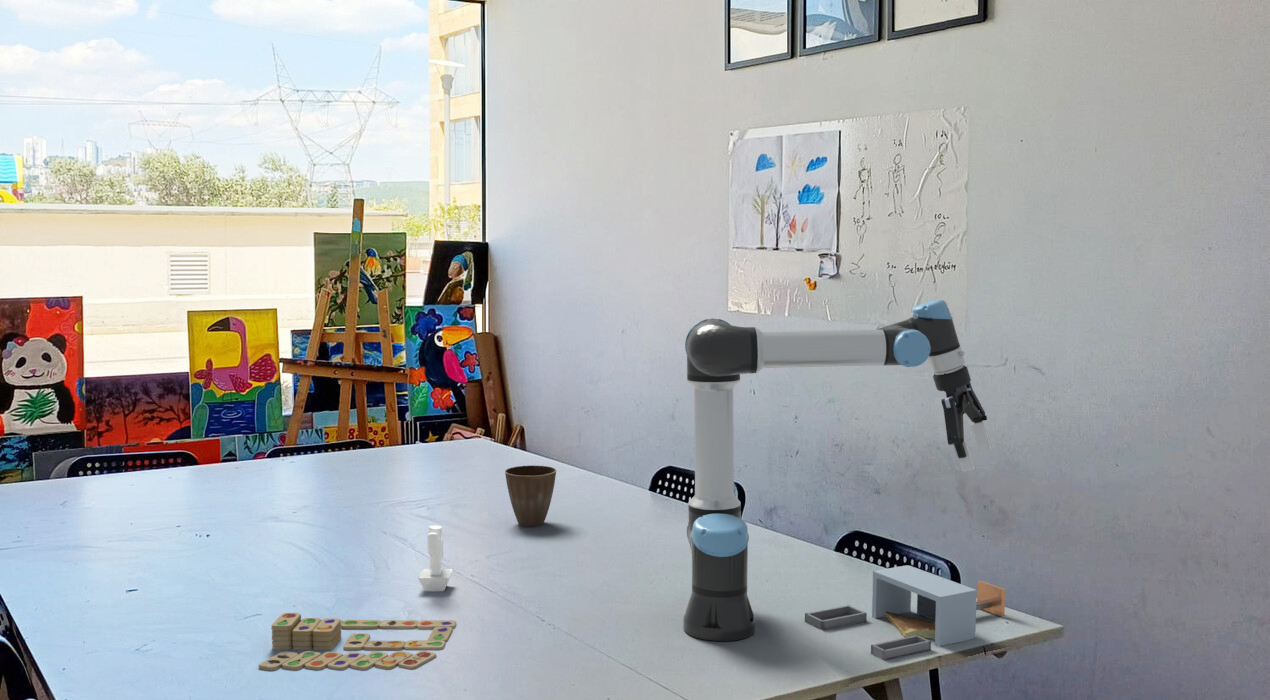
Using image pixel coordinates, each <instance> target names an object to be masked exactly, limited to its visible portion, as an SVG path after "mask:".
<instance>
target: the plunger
mask: <svg viewBox="0 0 1270 700" xmlns="http://www.w3.org/2000/svg"><path fill="white" fill-rule="evenodd" d="M916 596H917V597H916V600H917V601H916V603H917V604H916V613H917V615H920V616H922V617H924V618H927V619H930V620H932V621H934V622H935V620H936V601H934V600H932V599H929V598H927V597H924V596H921V595H919V594H917V595H916ZM1005 606H1006V588H1004V587H1000V586H998V585H995V584H992V583H989V582H987V581H984V580H978V581H977V599H976V611H979V610H982V611H986V612H988V613H990V614H994V615H996V616H999V617H1005V609H1006V607H1005Z"/></svg>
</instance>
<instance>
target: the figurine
mask: <svg viewBox="0 0 1270 700" xmlns="http://www.w3.org/2000/svg"><path fill="white" fill-rule="evenodd" d="M442 534H443V526H441V525H430V526H428V534H427V553H428V555H429V567H430V568H423V569H422V570H421V572H420V573H419V576H418V577H417V579H418V581H419V583H420V585H421V587H422V588H423V590H424V592H445V590H446V588H447V586H448V584H449V580H450V578H451V575H452V573H453V572H454V571H453V570H454V568H442V558H443V557H444V540H443V538H442Z"/></svg>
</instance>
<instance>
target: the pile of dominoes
mask: <svg viewBox="0 0 1270 700" xmlns="http://www.w3.org/2000/svg"><path fill="white" fill-rule="evenodd" d="M456 626H457V621H456V620H453V619H439V620H438V619H437V620H436V619H429V620H428V619H422V620H413V619H404V620H403V619H402V620H401V619H384V620H380V619H346V620H343V619H341V618H338V617H337V618H336V617H333V618H328V617H326V618H322V619H321V618H319V617H304V618H302V614H301V613H300V612H283V613H281V614H279V617H278V618H277V619H275V621H273V623H272V624H271V627H270V629H271V630H272V631H271V640H272V641H271V645H272V646H271V648H272V650H273V651H281V652H279V653H277V654H275V655H273V656H272V657H270V658H268V659H266V660H264V661H262V662H260V663H259V664H258V670H264V671H269V672H270V671H271V672H272V671H277V670H279V669H284V670H289V671H290V670H291V671H300V670H301V669H304V668H305V669H307V670H314V671H321V670H324V669H326V668H328V669H329V670H330V669H331V670H336V671H344V670H347V669H349V668H350V669H354V670H359V671H367V670H369V669H371V668H373V667H375V668H379V669H382V670H383V669H384V670H393V669H394V668H396V667H398V668H402V669H407V670H415V669H417V668H420V667H421V666H423V665H425V664H427V663H429V662H430V661H432V660H434V659H436V658H437V653H435V652H433V651H441V650H443V649H444V648H445V646H446V643H447V642H448V641H449V639H450V637H451V635H452V634H453V631H454V630H453V629H455V628H456ZM378 629H380V630H414V629H418V630H431V633H430V634H429V636H428V638H427V639H426V640H424V639H423V640H420V639H414V640H413V639H410V640H406V641H405V640H370V639H371V635H370V633H360V632H359V633H356V632H355V633H351V634H350V636H349V637H348V639H347V641H346V642H345V643H344V645H343V651H349V652H346V653H345V654H344V655H343V652H338V651H337V652H336V651H332V650H333V649H334V648H335V647H336V646H337V644H338V643H339V642H340V639H342V630H378ZM290 650H293V651H294V652H293V651H290ZM313 650H314V651H313ZM330 650H331V651H330ZM362 650H364V651H372V652H369V653H367V654H366V653H365V652H358V651H362ZM403 650H405V651H403ZM295 651H302V652H301V653H299V654H298V653H297V652H295ZM318 651H325V652H323V653H322V654H321V652H318ZM382 651H394V652H393V653H391V654H389V653H387V652H382ZM408 651H409V652H408ZM410 651H418V652H416V653H415V654H413V653H412V652H410Z"/></svg>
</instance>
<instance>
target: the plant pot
mask: <svg viewBox="0 0 1270 700" xmlns="http://www.w3.org/2000/svg"><path fill="white" fill-rule="evenodd" d="M504 474H505V481H506V487H507V492H508V495H509V496H508V497H509V500H510V503H511V507H512V511H513V513H514V516H515V518H516V521H517V524H518V525H519V526H520V527H524V528H525V527H527V528H534V527H535V528H536V527H540V526H543V525H544V523H545V521H546V518H547V516H548V512H549V509H550V506H551V502H552V499H553V492H554V488H555V483H556V475H557V469H556V468H555V467H551V466H547V465H535V464H534V465H519V466H512V467H508V468H506V469H505V471H504Z"/></svg>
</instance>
